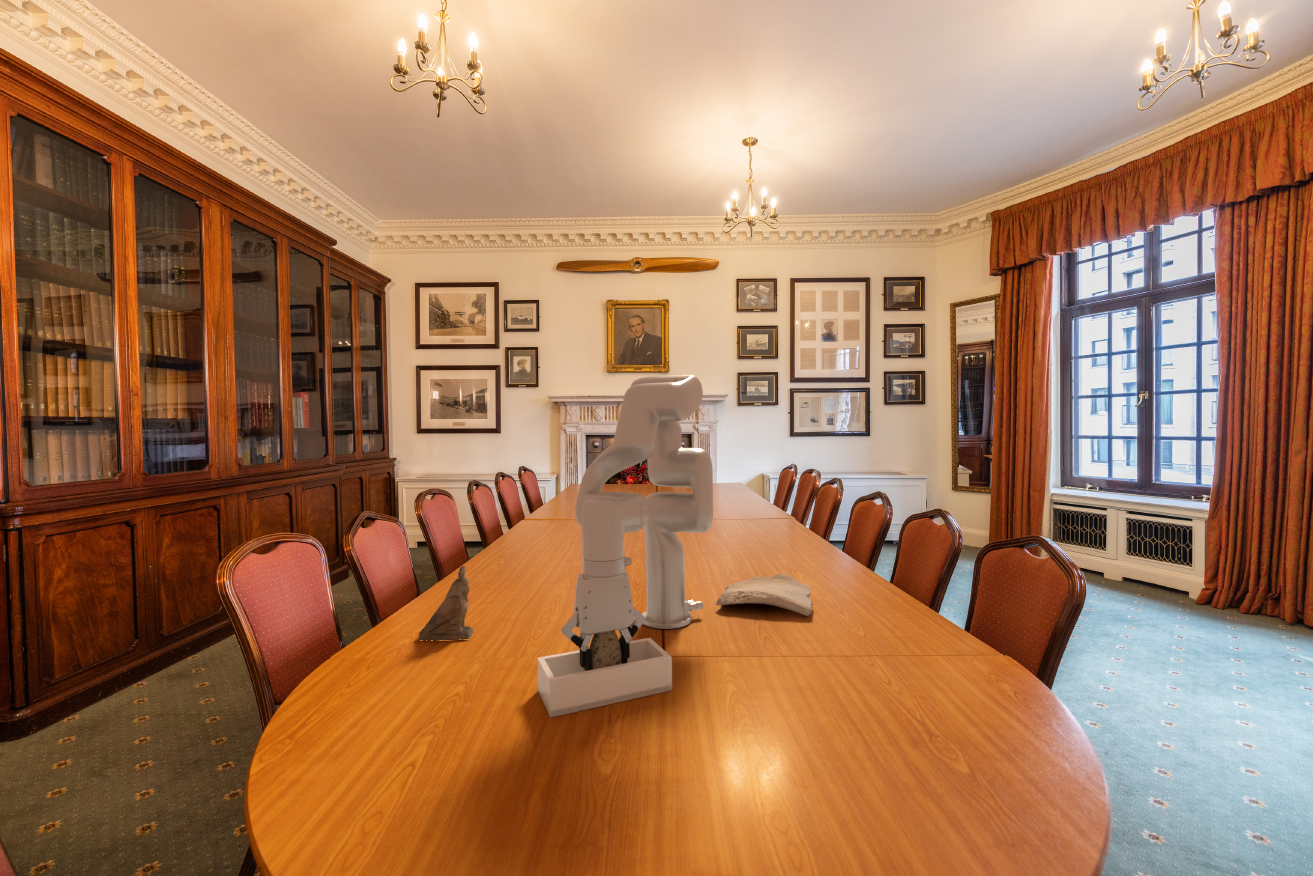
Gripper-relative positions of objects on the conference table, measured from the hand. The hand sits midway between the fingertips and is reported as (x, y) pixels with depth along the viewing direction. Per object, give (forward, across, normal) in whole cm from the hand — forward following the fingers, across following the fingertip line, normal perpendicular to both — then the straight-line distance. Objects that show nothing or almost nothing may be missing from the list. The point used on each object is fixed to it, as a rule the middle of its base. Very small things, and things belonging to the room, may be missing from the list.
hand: (605, 665), depth 96 cm
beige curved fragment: (+5, -54, -28) cm, 61 cm away
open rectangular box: (+5, 0, 0) cm, 5 cm away
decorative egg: (+3, 0, 0) cm, 3 cm away
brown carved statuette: (+5, +25, -40) cm, 47 cm away
